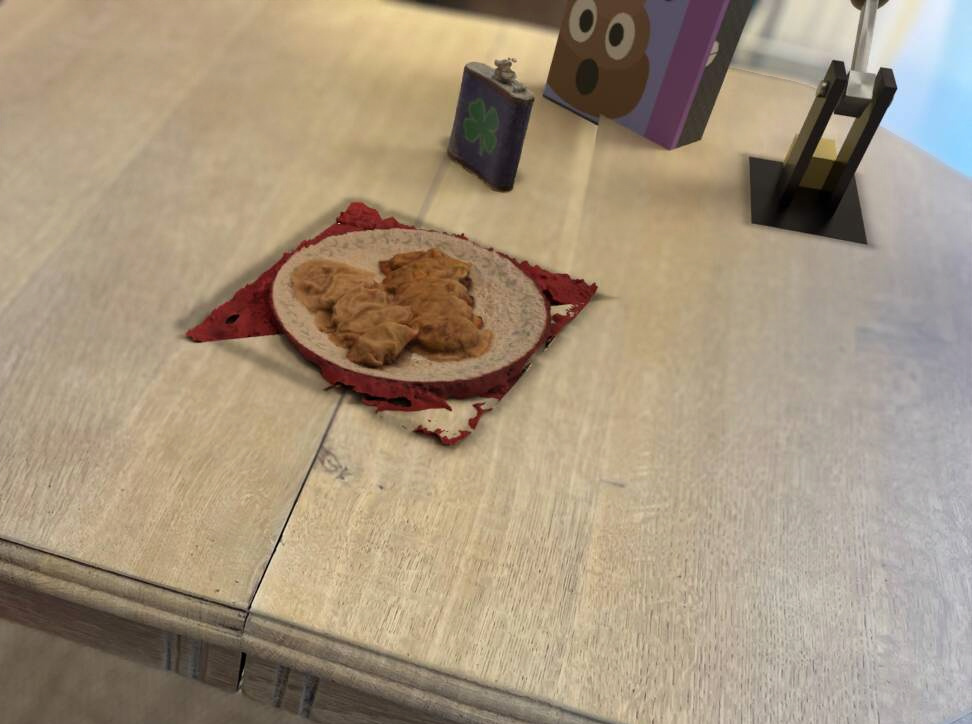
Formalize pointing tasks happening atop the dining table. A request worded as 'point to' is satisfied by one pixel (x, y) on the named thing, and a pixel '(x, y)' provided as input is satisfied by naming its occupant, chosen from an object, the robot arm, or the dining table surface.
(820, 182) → the butter
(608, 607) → the dining table surface
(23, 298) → the dining table surface
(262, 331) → the plate with food
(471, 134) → the flask
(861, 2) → the slicer arm
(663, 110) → the cereal box
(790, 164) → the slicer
